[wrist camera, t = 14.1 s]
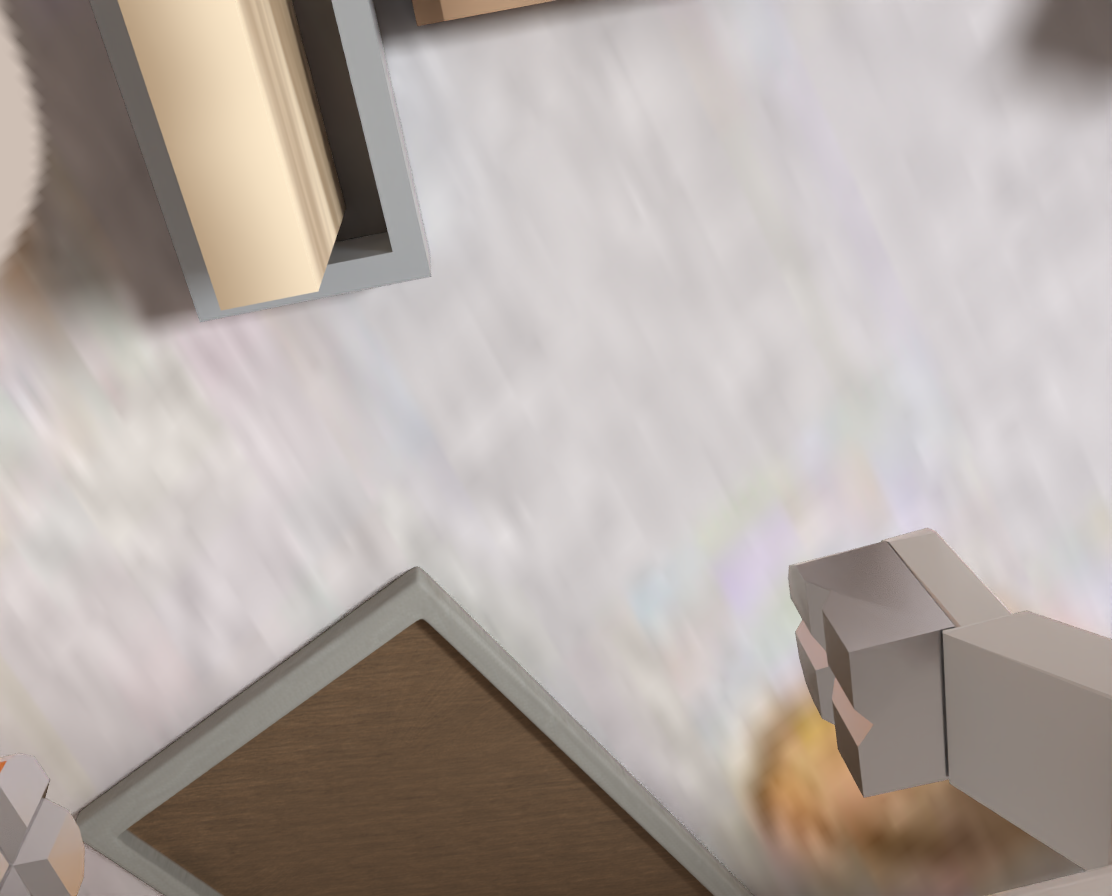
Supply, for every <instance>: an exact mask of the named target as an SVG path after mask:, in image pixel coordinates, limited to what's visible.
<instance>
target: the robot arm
mask: <svg viewBox="0 0 1112 896" xmlns="http://www.w3.org/2000/svg"><path fill="white" fill-rule="evenodd" d="M788 580H789V588H790V597H791V600H792V601H793V603H794V605H795V607H796V609H797V610H798V612H799V614H800V616H801V618H802V621H801V623H800V625H799V626H798V628H797V630H796V631H795V634H796V641H797V647H798V653H799V659H800V662H801V666H802V670H803V674H804V677H805V681H806V684H807V687H808V689H809V692H810V694H811V697H812V699H813V701H814V703H815V705H816V707H817V709H818V711H819V713H820V715H821V717H822V719H824V720H826V721H828V722H830V723H832V724H834V725H835V729H836V737H837V745H838V750H839V752H840V754H841V756H842V758H843V760H844V761H845V763H846V765H847V767H848V769H849V771H850V773H851V775H852V776H853V778H854V780H855V782H856V784H857V786H858V788H859V790H860V792H861V793H862V795H863V797H864V798H865V797H870V796H874V795H879V794H883V793H888V792H893V791H897V790H902V789H906V788H911V787H916V786H920V785H925V784H930V783H934V782H939V781H943V780H948V779H949V783H950V784H951V785H953V786H954V787H956V788H957V789H959V790H961V791H962V792H964V793H965V794H967V795H968V796H970V797H971V798H973V799H975V800H976V801H978V802H979V803H981V804H982V805H984V806H986V807H987V808H989V809H990V810H992V811H993V812H995V813H996V814H998V815H1000V816H1001V817H1003V818H1004V819H1006V820H1007V821H1009V822H1011V823H1012V824H1014V825H1015V826H1017V827H1018V828H1020V829H1022V830H1023V831H1025V832H1026V833H1028V834H1029V835H1031V836H1032V837H1034V838H1036V839H1037V840H1039V841H1040V842H1042V843H1043V844H1045V845H1047V846H1048V847H1050V848H1051V849H1053V850H1054V851H1056V852H1057V853H1059V854H1061V855H1062V856H1064V857H1065V858H1067V859H1068V860H1070V861H1072V862H1073V863H1075V864H1076V865H1078V866H1079V867H1081V868H1083V869H1084V870H1086V871H1084V872H1080V873H1076V874H1072V875H1068V876H1063V877H1059V878H1055V879H1051V880H1047V881H1043V882H1039V883H1035V884H1031V885H1027V886H1023V887H1019V888H1015V889H1011V890H1007V891H1002V892H998V893H994V894H990V895H986V896H1112V639H1110V638H1107V637H1104V636H1101V635H1098V634H1095V633H1092V632H1089V631H1086V630H1083V629H1080V628H1077V627H1074V626H1071V625H1068V624H1065V623H1062V622H1059V621H1056V620H1053V619H1050V618H1047V617H1044V616H1041V615H1038V614H1035V613H1032V612H1030V611H1023V612H1018V613H1014V614H1012V613H1011V612H1010V611H1009V610H1008V609H1007V607H1006V606H1005V605H1004V604H1003V603H1002V602H1001V601H1000V600H999V599H998V598H997V597H996V596H995V594H994V593H993V592H992V591H991V590H990V589H989V588H988V587H987V586H986V585H985V584H984V583H983V581H982V580H981V579H980V578H979V577H978V576H977V575H976V574H975V573H974V572H973V571H972V570H971V568H970V567H969V566H968V565H967V564H966V563H965V562H964V561H963V560H962V559H961V558H960V557H959V555H958V554H957V553H956V552H955V551H954V550H953V549H952V548H951V547H950V546H949V545H948V544H947V542H946V541H945V540H944V539H943V538H942V537H941V536H940V535H939V534H938V533H937V532H936V531H935V530H932V529H929V528H925V529H921V530H917V531H914V532H910V533H906V534H903V535H899V536H896V537H892V538H888V539H885V540H882V541H881V542H879V543H875V544H871V545H867V546H863V547H859V548H855V549H852V550H848V551H844V552H840V553H836V554H832V555H828V556H824V557H820V558H816V559H812V560H808V561H804V562H800V563H797V564H793V565H789V574H788ZM49 782H50V779H49V777H48V776H47V774H46V773H45V771H44V770H43V768H42V767H41V765H40V764H39V762H38V761H37V760H36V758H35V757H34V756H30V755H26V754H22V753H17V754H12V755H8V756H3V757H0V896H77V894H78V891H79V888H80V886H81V883H82V880H83V877H84V855H85V847H84V844H83V840H82V837H81V833H80V830H79V827H78V825H77V823H76V821H75V820H74V818H73V816H72V815H71V813H70V811H69V810H68V809H66V808H64V807H62V806H60V805H58V804H56V803H54V802H52V801H50V800H48V799H46V798H45V796H46V793H47V789H48V785H49Z"/></svg>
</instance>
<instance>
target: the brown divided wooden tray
mask: <svg viewBox="0 0 1112 896" xmlns="http://www.w3.org/2000/svg"><path fill="white" fill-rule="evenodd" d="M550 1H555V0H412V4H413V8H414V13H415V18H416V23H417V26H421V25H427V24H432V23H437V22H443V21H448V20H453V19H459V18H464V17H469V16H475V15H480V14H485V13H491V12H496V11H502V10H507V9H512V8H518V7H523V6H528V5H534V4H539V3H544V2H550Z"/></svg>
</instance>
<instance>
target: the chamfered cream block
mask: <svg viewBox="0 0 1112 896" xmlns="http://www.w3.org/2000/svg"><path fill="white" fill-rule="evenodd" d="M118 3H119V6H120V9H121V12H122V15H123V18H124V21H125V24H126V27H127V30H128V33H129V36H130V39H131V42H132V45H133V48H134V51H135V54H136V57H137V60H138V63H139V66H140V69H141V72H142V75H143V78H144V81H145V84H146V87H147V90H148V93H149V96H150V99H151V102H152V105H153V108H154V111H155V114H156V117H157V120H158V123H159V126H160V129H161V132H162V135H163V138H164V141H165V144H166V147H167V150H168V153H169V156H170V159H171V162H172V165H173V168H174V171H175V174H176V177H177V180H178V183H179V186H180V189H181V192H182V195H183V198H184V201H185V204H186V207H187V210H188V213H189V216H190V219H191V222H192V225H193V228H194V231H195V234H196V237H197V240H198V243H199V246H200V249H201V252H202V255H203V258H204V261H205V264H206V267H207V270H208V273H209V276H210V279H211V282H212V285H213V288H214V291H215V294H216V297H217V300H218V303H219V306H220V309H221V311H222V310H227V309H232V308H237V307H242V306H247V305H252V304H257V303H262V302H267V301H272V300H277V299H282V298H288V297H293V296H298V295H303V294H308V293H313V292H318V291H319V288H320V285H321V282H322V279H323V276H324V273H325V270H326V267H327V264H328V261H329V258H330V255H331V252H332V249H333V246H334V243H335V240H336V237H337V234H338V231H339V228H340V225H341V222H342V219H343V216H344V213H345V210H346V206H345V202H344V199H343V195H342V191H341V187H340V183H339V179H338V176H337V172H336V168H335V164H334V160H333V156H332V153H331V149H330V145H329V141H328V137H327V133H326V129H325V126H324V122H323V118H322V114H321V110H320V106H319V103H318V99H317V95H316V91H315V87H314V83H313V80H312V76H311V72H310V68H309V64H308V60H307V57H306V53H305V49H304V45H303V41H302V37H301V34H300V30H299V26H298V22H297V18H296V14H295V10H294V7H293V3H292V0H118Z"/></svg>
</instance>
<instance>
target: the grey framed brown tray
mask: <svg viewBox="0 0 1112 896" xmlns="http://www.w3.org/2000/svg"><path fill="white" fill-rule="evenodd" d="M76 823H77V825H78V827H79V830H80V833H81V837H82V840H83V842H85V843H86V844H88V845H89V846H91V847H92V848H94V849H95V850H97V851H98V852H100V853H101V854H103V855H104V856H106V857H107V858H109V859H110V860H112V861H113V862H115V863H116V864H118V865H119V866H121V867H122V868H124V869H125V870H127V871H128V872H130V873H131V874H133V875H134V876H136V877H137V878H139V879H140V880H142V881H143V882H145V883H146V884H148V885H150V886H151V887H153V888H154V889H156V890H157V891H159V892H160V893H162V894H163V895H165V896H754V895H753V894H752V893H751V892H750V891H749V890H748V889H747V888H746V887H745V886H744V885H743V884H742V883H741V882H740V881H738V880H737V879H736V878H735V877H734V876H733V875H732V874H731V873H730V872H729V871H728V870H727V869H726V868H725V867H724V866H723V865H722V864H721V863H720V862H719V861H718V860H717V859H716V858H715V857H714V856H713V855H712V854H711V853H710V852H709V851H708V850H707V849H706V848H705V847H704V846H703V845H702V844H701V843H700V842H699V841H698V840H697V839H696V838H695V837H694V836H693V835H692V834H691V833H690V832H689V831H688V830H687V829H686V828H685V827H684V826H683V825H682V824H681V823H680V822H679V821H678V820H677V819H676V818H675V817H674V816H673V815H672V814H671V813H670V812H669V811H668V810H667V809H666V808H664V807H663V806H662V805H661V804H660V803H659V802H658V801H657V800H656V799H655V798H654V797H653V796H652V795H651V794H650V793H649V792H648V791H647V790H646V789H645V788H644V787H643V786H642V785H641V784H640V783H639V782H638V781H637V780H636V779H635V778H634V777H633V776H632V775H631V774H630V773H629V772H628V771H627V770H626V769H625V768H624V767H623V766H622V765H621V764H620V763H619V762H618V761H617V760H616V759H615V758H614V757H613V756H612V755H611V754H610V753H609V752H608V751H607V750H606V749H605V748H604V747H603V746H602V745H601V744H600V743H599V742H598V741H597V740H596V739H595V738H594V737H593V736H592V735H590V734H589V733H588V732H587V731H586V730H585V729H584V728H583V727H582V726H581V725H580V724H579V723H578V722H577V721H576V720H575V719H574V718H573V717H572V716H571V715H570V714H569V713H568V712H567V711H566V710H565V709H564V708H563V707H562V706H561V705H560V704H559V703H558V702H557V701H556V700H555V699H554V698H553V697H552V696H551V695H550V694H549V693H548V692H547V691H546V690H545V689H544V688H543V687H542V686H541V685H540V684H539V683H538V682H537V681H536V680H535V679H534V678H533V677H532V676H531V675H530V674H529V673H528V672H527V671H526V670H525V669H524V668H523V667H522V666H521V665H520V664H519V663H517V662H516V661H515V660H514V659H513V658H512V657H511V656H510V655H509V654H508V653H507V652H506V651H505V650H504V649H503V648H502V647H501V646H500V645H499V644H498V643H497V642H496V641H495V640H494V639H493V638H492V637H491V636H490V635H489V634H488V633H487V632H486V631H485V630H484V629H483V628H482V627H481V626H480V625H479V624H478V623H477V622H476V621H475V620H474V619H473V618H472V617H471V616H470V615H469V614H468V613H467V612H466V611H465V610H464V609H463V608H462V607H461V606H460V605H459V604H458V603H457V602H456V601H455V600H454V599H453V598H452V597H451V596H450V595H449V594H448V593H447V592H446V591H445V590H443V589H442V588H441V587H440V586H439V585H438V584H437V583H436V582H435V581H434V580H433V579H432V578H431V577H430V576H429V575H428V574H427V573H426V572H425V571H424V570H423V569H421V568H420V567H414V568H412V569H411V570H409V571H408V572H406V573H405V574H404V575H402V576H401V577H399V578H398V579H397V580H395V581H394V582H393V583H391V584H390V585H388V586H387V587H386V588H384V589H383V590H382V591H380V592H379V593H378V594H376V595H375V596H373V597H372V598H371V599H369V600H368V601H367V602H365V603H364V604H362V605H361V606H360V607H358V608H357V609H356V610H354V611H353V612H352V613H350V614H349V615H347V616H346V617H345V618H343V619H342V620H341V621H339V622H338V623H337V624H335V625H334V626H332V627H331V628H330V629H328V630H327V631H326V632H324V633H323V634H322V635H320V636H319V637H317V638H316V639H315V640H313V641H312V642H311V643H309V644H308V645H306V646H305V647H304V648H302V649H301V650H300V651H298V652H297V653H296V654H294V655H293V656H291V657H290V658H289V659H287V660H286V661H285V662H283V663H282V664H281V665H279V666H278V667H276V668H275V669H274V670H272V671H271V672H270V673H268V674H267V675H265V676H264V677H263V678H261V679H260V680H259V681H257V682H256V683H255V684H253V685H252V686H250V687H249V688H248V689H246V690H245V691H244V692H242V693H241V694H240V695H238V696H237V697H235V698H234V699H233V700H231V701H230V702H229V703H227V704H226V705H224V706H223V707H222V708H220V709H219V710H218V711H216V712H215V713H214V714H212V715H211V716H209V717H208V718H207V719H205V720H204V721H203V722H201V723H200V724H199V725H197V726H196V727H194V728H193V729H192V730H190V731H189V732H188V733H186V734H185V735H184V736H182V737H181V738H179V739H178V740H177V741H175V742H174V743H173V744H171V745H170V746H168V747H167V748H166V749H164V750H163V751H162V752H160V753H159V754H158V755H156V756H155V757H153V758H152V759H151V760H149V761H148V762H147V763H145V764H144V765H143V766H141V767H140V768H138V769H137V770H136V771H134V772H133V773H132V774H130V775H129V776H127V777H126V778H125V779H123V780H122V781H121V782H119V783H118V784H117V785H115V786H114V787H112V788H111V789H110V790H108V791H107V792H106V793H104V794H103V795H102V796H100V797H99V798H97V799H96V800H95V801H93V802H92V803H91V804H89V805H88V806H87V807H85V808H84V809H83V810H82V811H81V812H79V814H78V817H77V819H76Z"/></svg>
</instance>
